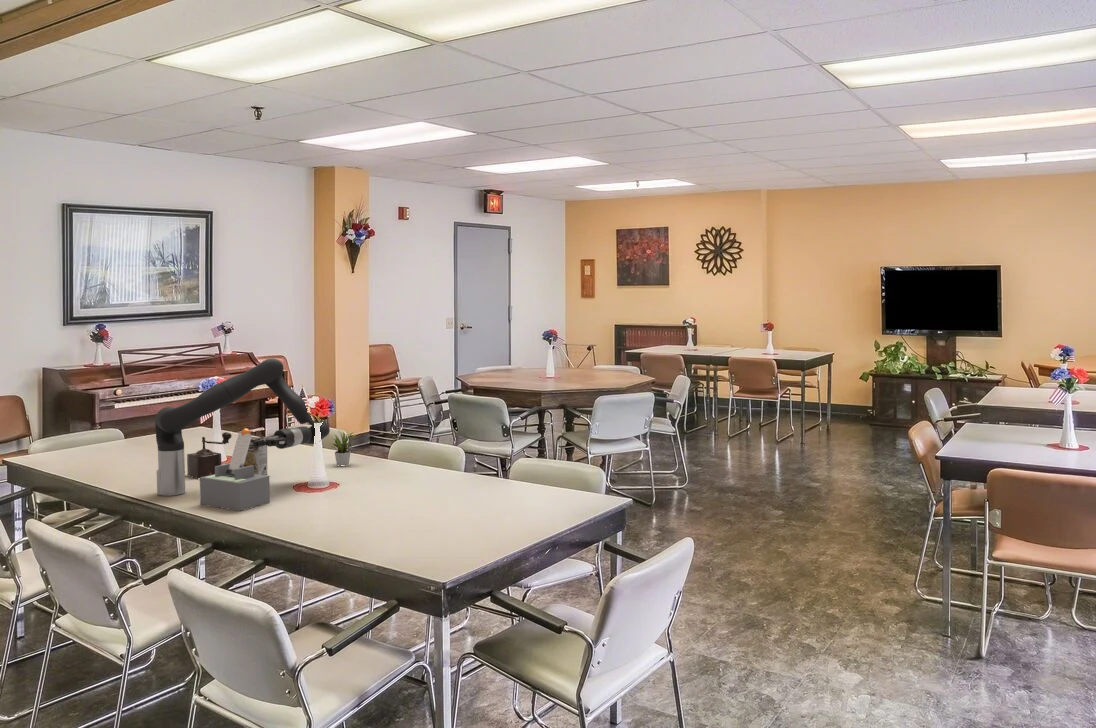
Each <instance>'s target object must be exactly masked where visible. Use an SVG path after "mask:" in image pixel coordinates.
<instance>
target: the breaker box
mask: <svg viewBox="0 0 1096 728" xmlns="http://www.w3.org/2000/svg"><path fill="white" fill-rule="evenodd" d="M229 466H230V462H229V463H225V464H221V465H219V466H215V474H214V475H209V476H205V477H201V478H200V479H199V490H200V491H199V498H200V500H199V501H200V505H201V504H203V505H202V506H206V505H210V506H209V507H212V506H216V507H215V508H218V507H223V508H222V509H224V508H229V509H228V510H230V509H234V510H233V511H236V510H243V511H245V510H244V509H246V510H248V509H247V508H250V509H252V508H251V507H253V508H256V507H255V506H257V507H259V506H258V505H260V506H263V505H266V504H265V503H267V504H270V503H271V492H270V491H271V490H270V488H271V487H270V475H259V474H254V465H251V466H246V467H242V468H238V469H235V476H232V475H227V474H226V471H227V469H229ZM269 502H270V503H269ZM262 504H263V505H262Z"/></svg>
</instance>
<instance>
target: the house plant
mask: <svg viewBox="0 0 1096 728" xmlns="http://www.w3.org/2000/svg"><path fill="white" fill-rule="evenodd" d="M338 433H339V435H340V436H341V440H340V438H339V436H337V435H336V434H335V433H332V434H333V436H334V437H335V439H334V437H332V436H331V435H330V436H329V437H331V438H332V439H333V440H334V443H329V444H330V445H332V446H333V449H336V451H334V456H335V462H336V466H337V465H339V466H338V467H340V466H341V465H348V464H349V465H350V460H351V459H350V458H351V451H350V450H348V449H349V448H350V447H351V448H354V447H355V444H353V443H354V442H355V440H354V441H351V440H352V439H353V438H354V437H355V436H357V435H358V433H356V434H354V433H355V431H353V432H351V433H347V434H346V433H345V432H344V431H342V432H341V431H338ZM329 448H331V446H329ZM349 465H348V466H349Z"/></svg>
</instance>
